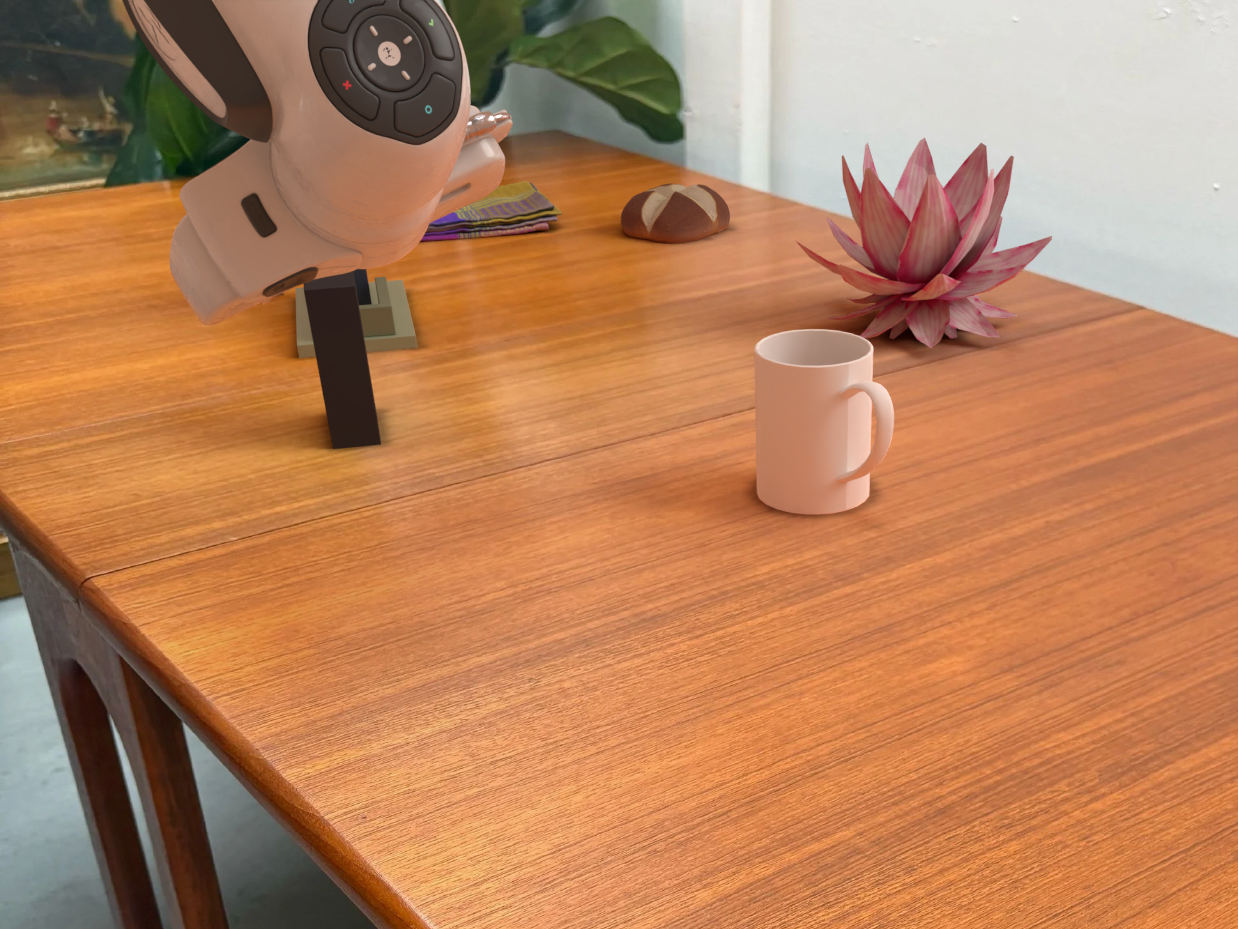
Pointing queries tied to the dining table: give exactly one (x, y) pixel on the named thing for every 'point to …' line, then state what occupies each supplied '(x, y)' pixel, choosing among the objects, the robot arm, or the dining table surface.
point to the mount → (368, 316)
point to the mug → (817, 420)
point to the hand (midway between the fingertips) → (333, 256)
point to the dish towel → (497, 215)
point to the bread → (675, 214)
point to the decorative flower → (929, 247)
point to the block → (342, 361)
